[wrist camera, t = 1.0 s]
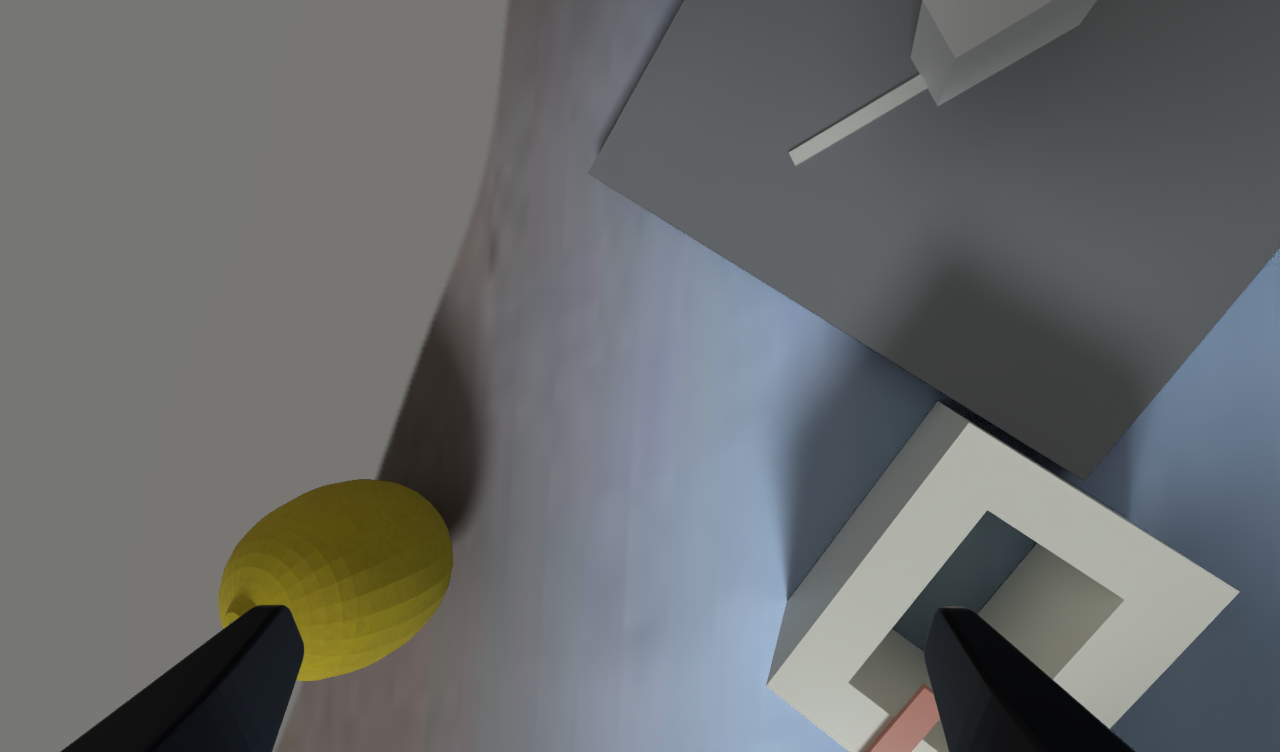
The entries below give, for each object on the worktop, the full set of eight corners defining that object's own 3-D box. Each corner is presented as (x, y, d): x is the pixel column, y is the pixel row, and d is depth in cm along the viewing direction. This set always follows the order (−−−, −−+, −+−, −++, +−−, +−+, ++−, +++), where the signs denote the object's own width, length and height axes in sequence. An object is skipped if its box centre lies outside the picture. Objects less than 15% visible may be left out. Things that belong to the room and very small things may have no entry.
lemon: (399, 625, 24) (193, 755, 17) (350, 488, 25) (126, 554, 17) (518, 585, 22) (349, 709, 15) (463, 438, 23) (270, 486, 15)
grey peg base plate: (1570, -129, 14) (1851, -312, 10) (1071, 473, 17) (1134, 511, 13) (897, -350, 17) (910, -544, 13) (600, 180, 21) (544, 144, 17)
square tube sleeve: (1129, 520, 17) (1246, 595, 12) (949, 726, 18) (985, 868, 13) (937, 400, 18) (971, 423, 13) (785, 603, 20) (763, 692, 15)
